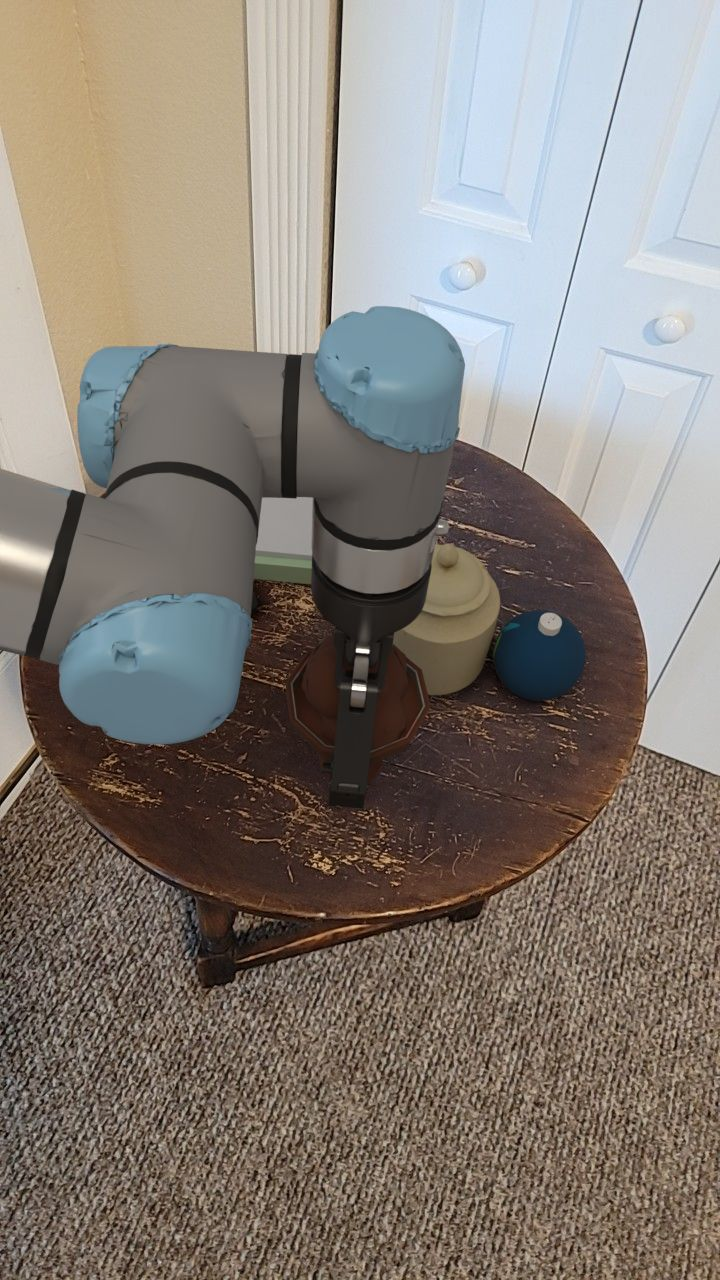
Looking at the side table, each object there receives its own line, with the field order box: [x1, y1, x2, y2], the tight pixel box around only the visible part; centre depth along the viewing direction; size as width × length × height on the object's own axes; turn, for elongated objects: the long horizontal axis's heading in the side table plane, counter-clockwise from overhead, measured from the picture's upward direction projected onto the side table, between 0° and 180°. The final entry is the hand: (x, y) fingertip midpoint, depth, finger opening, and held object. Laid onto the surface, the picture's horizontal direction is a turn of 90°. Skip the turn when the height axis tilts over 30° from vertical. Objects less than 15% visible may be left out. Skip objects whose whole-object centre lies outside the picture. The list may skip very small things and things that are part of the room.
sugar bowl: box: [393, 540, 501, 696], centre depth 85 cm, size 15×11×15 cm
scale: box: [253, 497, 313, 585], centre depth 98 cm, size 14×13×3 cm
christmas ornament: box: [492, 609, 587, 702], centre depth 85 cm, size 8×8×10 cm
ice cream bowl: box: [284, 632, 432, 783], centre depth 71 cm, size 11×11×15 cm
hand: (352, 738), depth 75 cm, fingers closed on ice cream bowl, 11 cm apart
